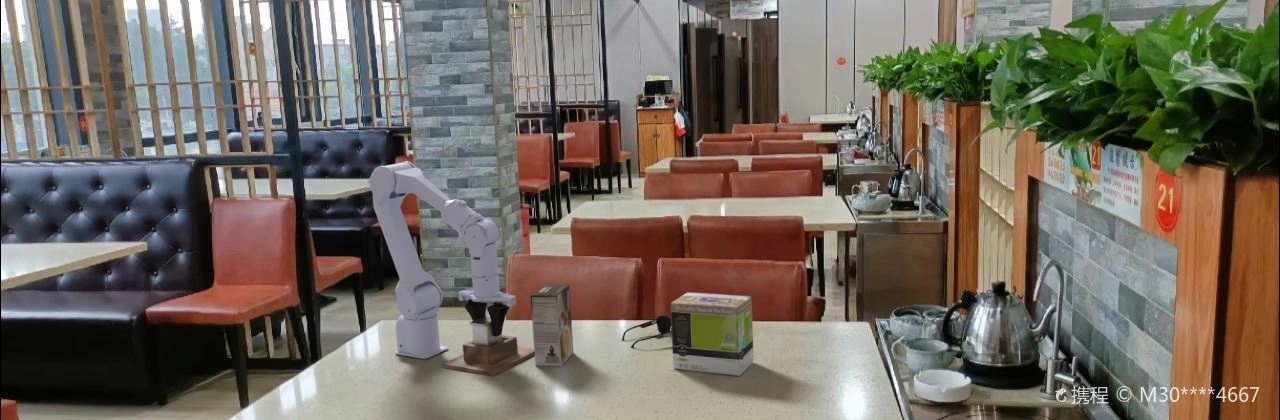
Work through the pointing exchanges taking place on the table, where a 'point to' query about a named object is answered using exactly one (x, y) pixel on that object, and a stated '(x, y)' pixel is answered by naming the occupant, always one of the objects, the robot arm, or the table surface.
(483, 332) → the pale gray rectangular block
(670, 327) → the sunglasses
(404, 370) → the table surface
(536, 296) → the coffee box
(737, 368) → the tea box
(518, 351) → the walnut holder
